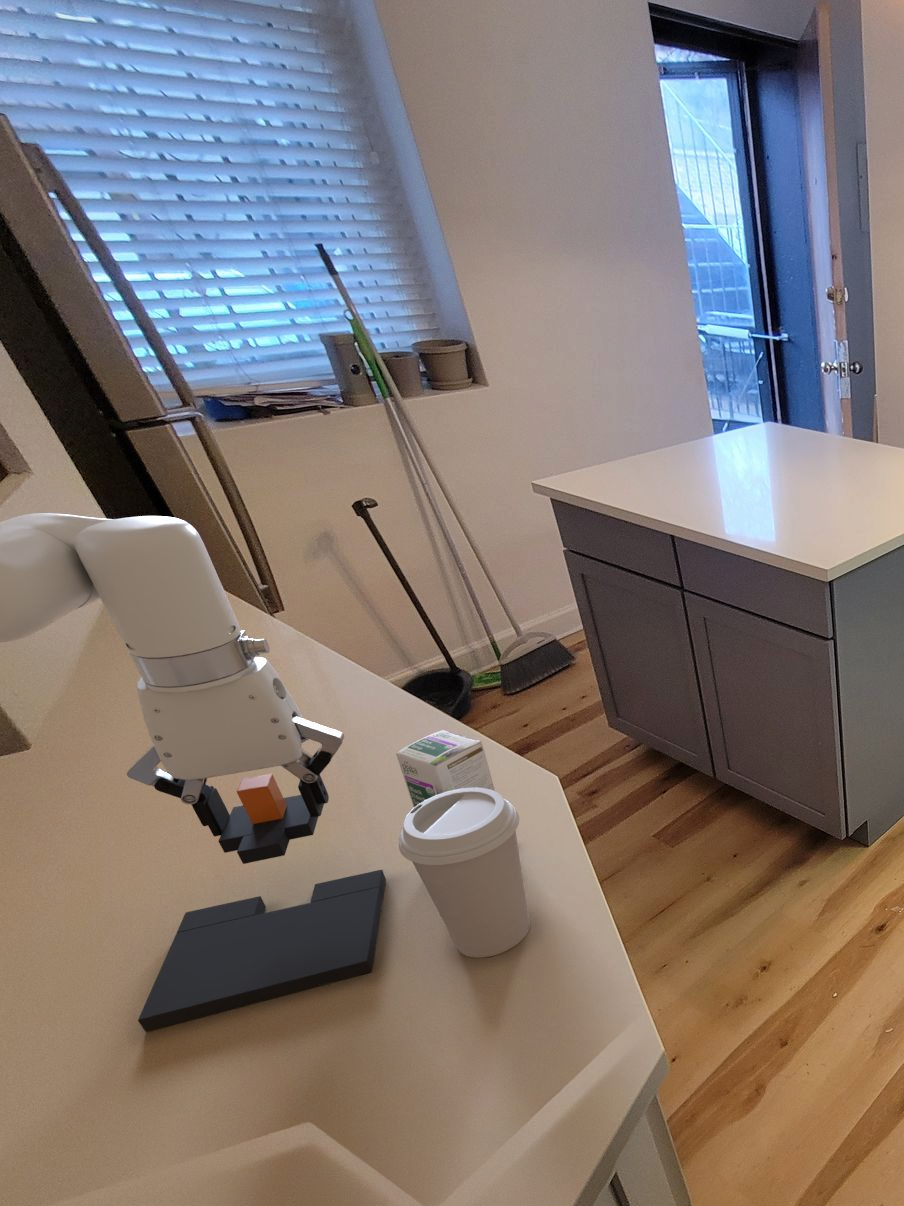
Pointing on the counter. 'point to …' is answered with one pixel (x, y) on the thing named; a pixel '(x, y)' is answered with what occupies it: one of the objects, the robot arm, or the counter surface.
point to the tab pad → (265, 821)
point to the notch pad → (266, 950)
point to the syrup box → (443, 765)
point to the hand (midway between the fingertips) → (271, 817)
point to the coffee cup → (470, 867)
